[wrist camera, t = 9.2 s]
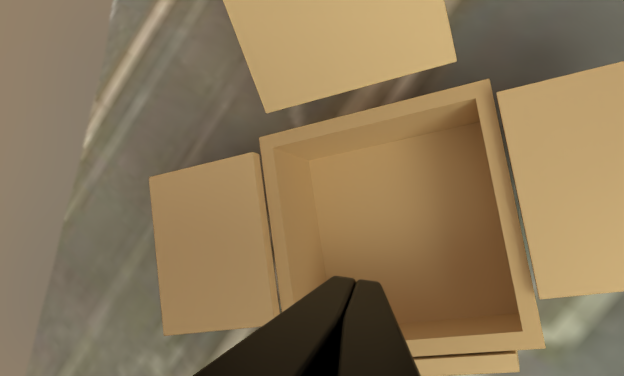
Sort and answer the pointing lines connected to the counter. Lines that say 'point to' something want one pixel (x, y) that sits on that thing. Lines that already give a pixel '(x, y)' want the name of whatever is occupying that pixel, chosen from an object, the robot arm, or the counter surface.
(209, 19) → the counter surface
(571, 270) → the carton
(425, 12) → the back flap
